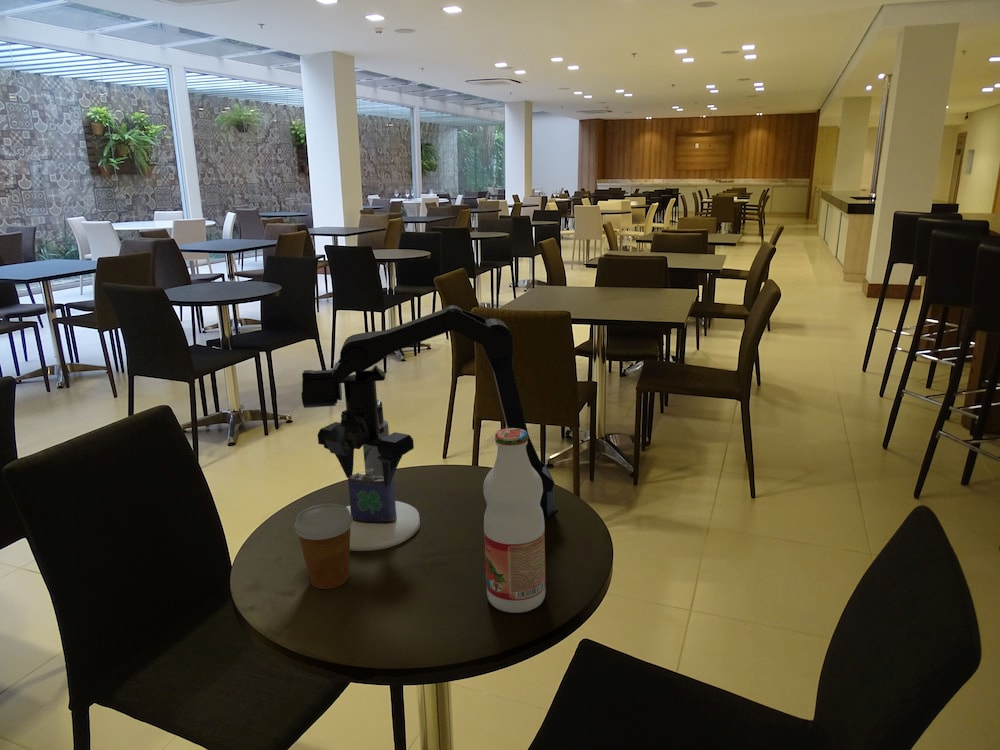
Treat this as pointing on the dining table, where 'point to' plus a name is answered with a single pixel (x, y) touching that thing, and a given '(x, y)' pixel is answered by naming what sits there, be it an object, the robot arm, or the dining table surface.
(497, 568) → the fruit juice
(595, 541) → the dining table surface
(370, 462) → the lotion bottle
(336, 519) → the disposable coffee cup
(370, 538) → the plate
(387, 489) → the flask
